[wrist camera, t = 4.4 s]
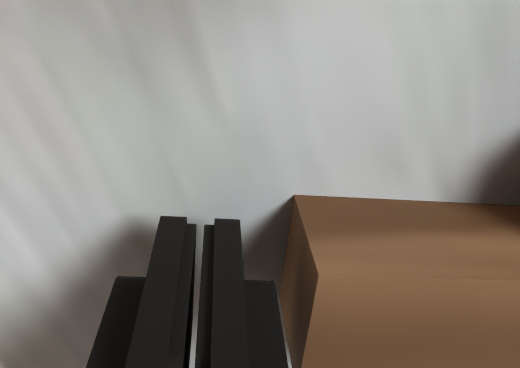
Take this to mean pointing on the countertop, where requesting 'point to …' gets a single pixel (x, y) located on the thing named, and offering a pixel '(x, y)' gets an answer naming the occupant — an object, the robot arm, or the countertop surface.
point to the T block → (401, 284)
